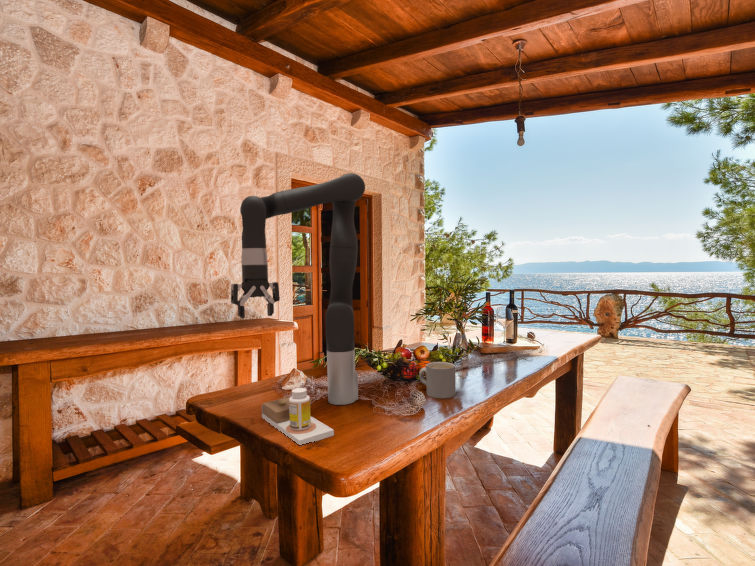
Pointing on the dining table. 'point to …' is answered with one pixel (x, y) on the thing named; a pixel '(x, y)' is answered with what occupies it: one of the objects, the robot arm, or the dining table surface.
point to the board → (303, 436)
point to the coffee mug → (439, 379)
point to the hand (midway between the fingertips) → (256, 317)
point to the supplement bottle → (299, 410)
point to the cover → (277, 410)
